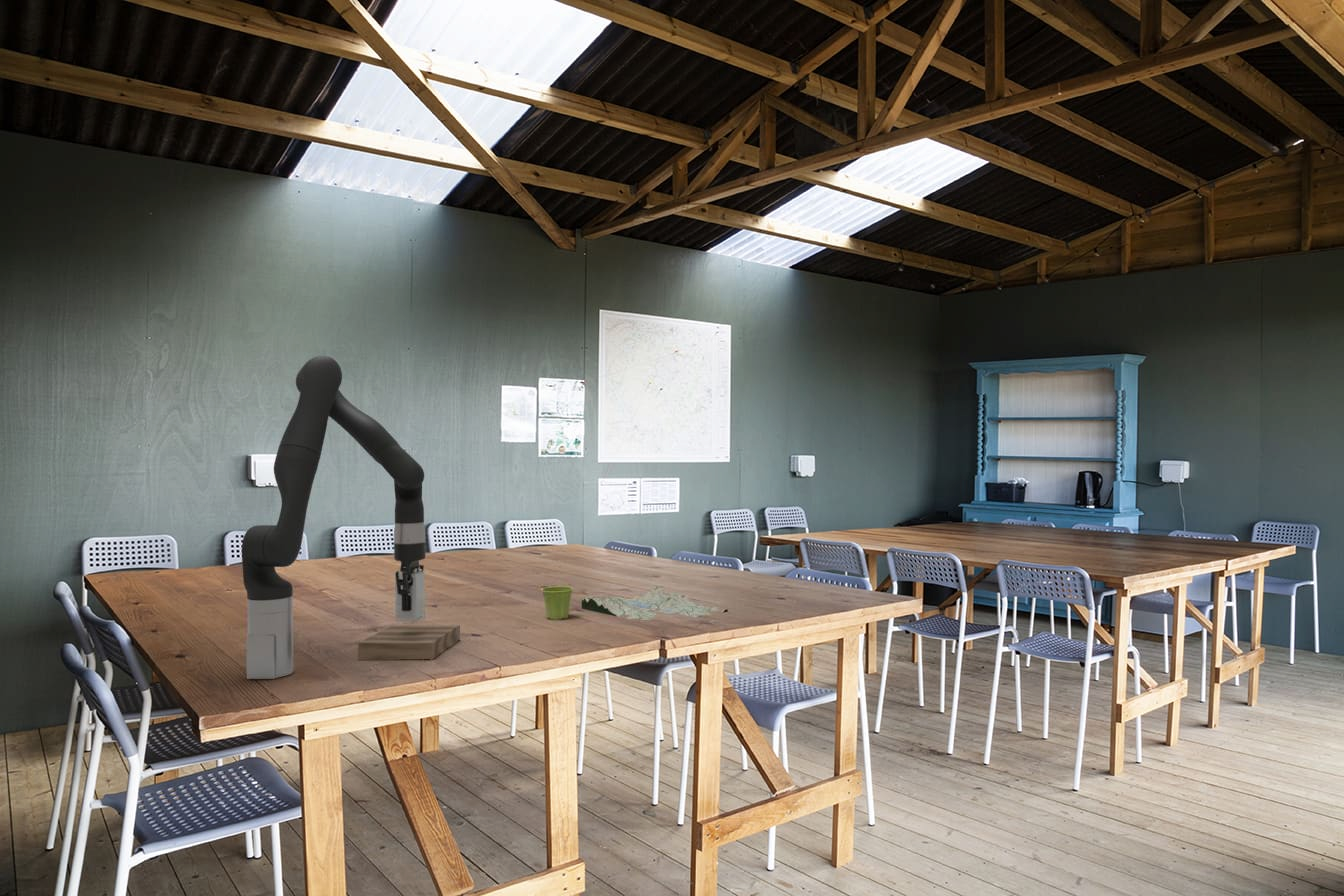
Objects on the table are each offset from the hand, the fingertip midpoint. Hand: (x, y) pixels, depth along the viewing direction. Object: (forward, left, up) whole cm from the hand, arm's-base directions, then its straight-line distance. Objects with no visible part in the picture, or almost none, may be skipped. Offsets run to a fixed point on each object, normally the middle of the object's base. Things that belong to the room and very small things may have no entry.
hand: (410, 608), depth 220 cm
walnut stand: (0, 0, -10) cm, 10 cm away
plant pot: (+42, -29, -10) cm, 52 cm away
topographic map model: (+55, -57, -11) cm, 80 cm away
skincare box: (0, 0, -3) cm, 3 cm away
